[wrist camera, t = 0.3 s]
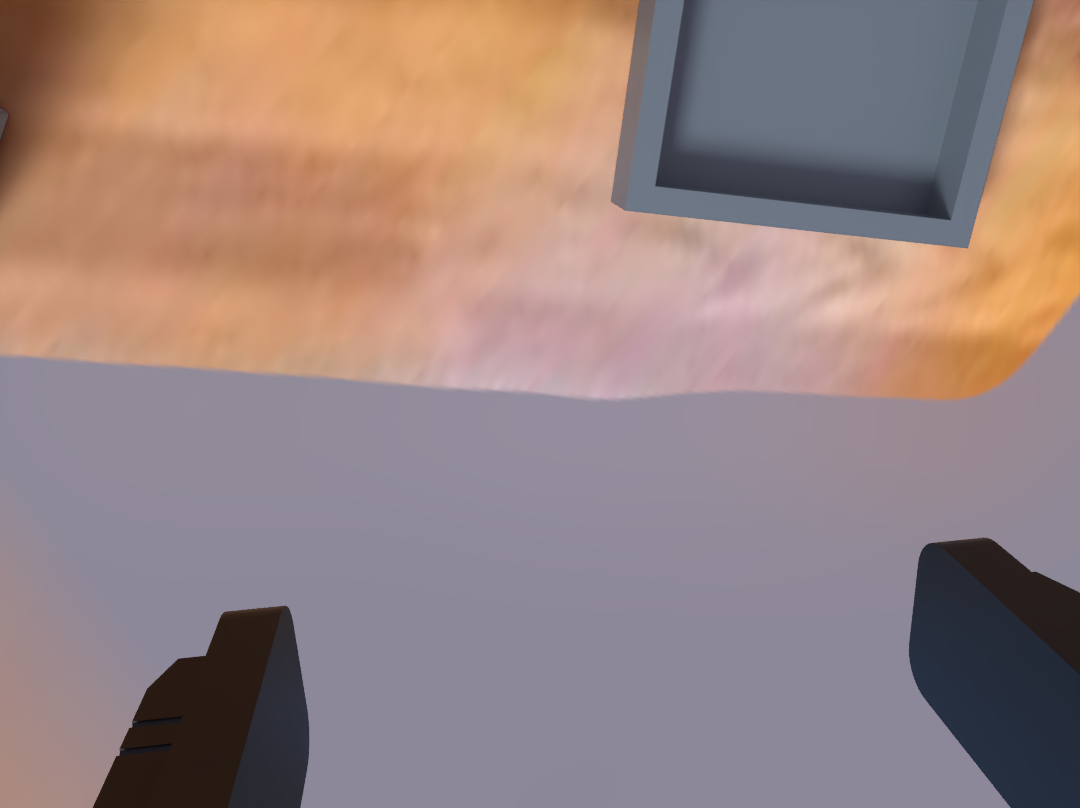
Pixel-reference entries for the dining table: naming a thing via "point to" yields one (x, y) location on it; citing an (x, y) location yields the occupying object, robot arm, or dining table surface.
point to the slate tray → (818, 113)
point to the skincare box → (2, 120)
